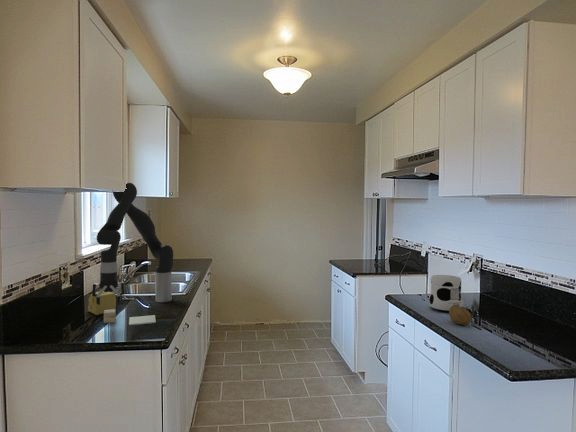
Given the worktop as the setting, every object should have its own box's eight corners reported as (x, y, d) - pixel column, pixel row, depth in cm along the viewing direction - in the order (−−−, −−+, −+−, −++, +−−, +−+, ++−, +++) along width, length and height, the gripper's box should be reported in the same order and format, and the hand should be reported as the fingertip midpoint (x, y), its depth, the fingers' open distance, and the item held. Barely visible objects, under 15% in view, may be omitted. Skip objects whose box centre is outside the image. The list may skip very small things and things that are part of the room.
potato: (456, 328, 183) (457, 311, 183) (444, 319, 197) (444, 304, 197) (477, 328, 183) (477, 311, 183) (463, 319, 198) (463, 304, 197)
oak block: (104, 320, 194) (104, 310, 194) (115, 319, 196) (115, 309, 196) (103, 323, 190) (103, 312, 190) (115, 322, 192) (114, 311, 191)
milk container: (433, 304, 228) (434, 273, 228) (465, 309, 218) (466, 276, 218) (424, 310, 214) (425, 277, 214) (458, 316, 204) (459, 281, 204)
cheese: (87, 311, 209) (87, 293, 209) (108, 307, 217) (108, 289, 217) (95, 315, 202) (95, 296, 202) (116, 311, 210) (116, 292, 210)
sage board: (129, 318, 197) (129, 317, 197) (154, 316, 201) (154, 315, 201) (129, 325, 186) (129, 324, 186) (155, 322, 190) (155, 321, 190)
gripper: (91, 273, 186) (91, 307, 187) (124, 271, 191) (124, 304, 192) (93, 270, 193) (93, 303, 194) (124, 269, 198) (124, 301, 199)
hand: (108, 304), depth 193 cm, fingers open, 8 cm apart
